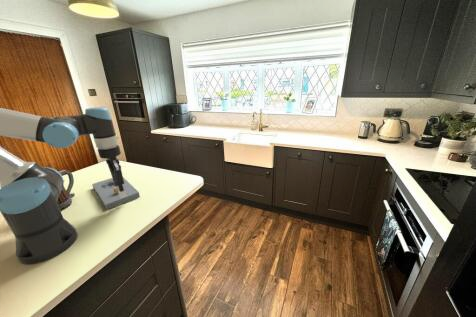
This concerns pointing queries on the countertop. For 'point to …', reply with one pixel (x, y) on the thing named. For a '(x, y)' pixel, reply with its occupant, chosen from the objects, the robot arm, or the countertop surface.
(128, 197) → the plate
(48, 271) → the countertop surface
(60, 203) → the mug
